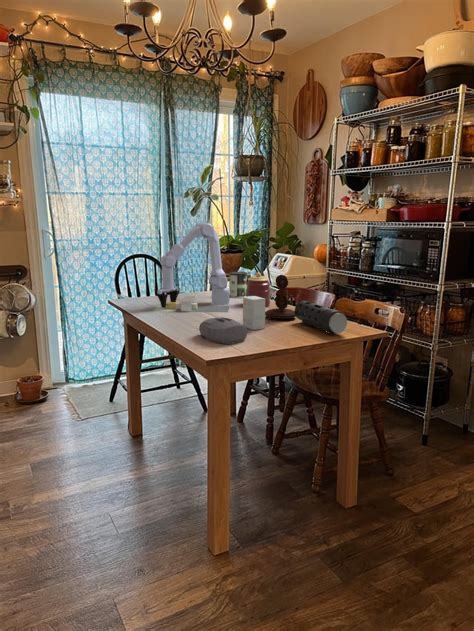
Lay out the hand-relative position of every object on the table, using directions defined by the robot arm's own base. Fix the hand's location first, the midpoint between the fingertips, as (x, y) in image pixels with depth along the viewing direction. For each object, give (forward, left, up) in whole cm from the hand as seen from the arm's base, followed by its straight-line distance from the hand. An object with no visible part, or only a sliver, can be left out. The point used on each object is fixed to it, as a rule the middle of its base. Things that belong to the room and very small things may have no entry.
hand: (168, 306), depth 245 cm
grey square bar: (-10, 0, -1) cm, 10 cm away
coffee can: (-34, -40, -2) cm, 53 cm away
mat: (-12, 0, -1) cm, 13 cm away
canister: (-46, -13, -2) cm, 47 cm away
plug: (-7, +1, -1) cm, 7 cm away
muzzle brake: (-70, +38, -2) cm, 80 cm away
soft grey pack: (-29, +56, -2) cm, 63 cm away
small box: (-42, +37, -2) cm, 56 cm away
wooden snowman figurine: (-56, +17, -2) cm, 58 cm away
